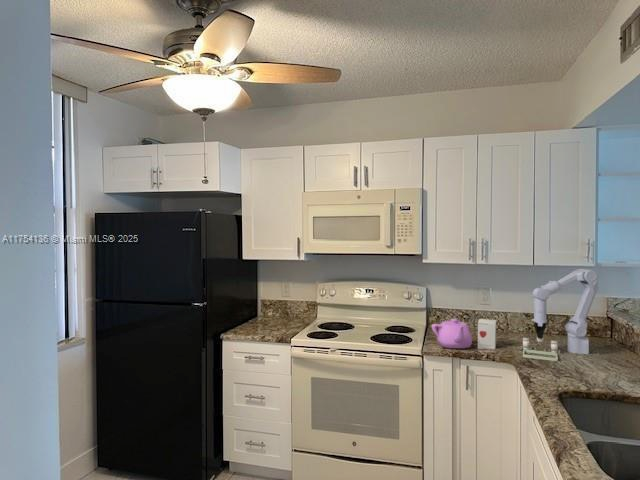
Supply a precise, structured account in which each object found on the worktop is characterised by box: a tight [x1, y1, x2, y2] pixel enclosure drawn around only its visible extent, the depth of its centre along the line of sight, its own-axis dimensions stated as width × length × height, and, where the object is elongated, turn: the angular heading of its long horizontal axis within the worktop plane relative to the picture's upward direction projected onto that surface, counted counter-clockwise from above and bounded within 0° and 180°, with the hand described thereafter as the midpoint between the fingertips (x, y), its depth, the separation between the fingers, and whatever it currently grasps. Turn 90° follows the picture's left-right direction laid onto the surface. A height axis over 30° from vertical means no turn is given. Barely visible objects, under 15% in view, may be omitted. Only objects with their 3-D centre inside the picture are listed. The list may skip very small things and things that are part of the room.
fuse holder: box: [519, 345, 562, 356], centre depth 223 cm, size 19×6×2 cm, turn 63°
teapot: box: [431, 318, 473, 350], centre depth 233 cm, size 23×21×15 cm
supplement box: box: [477, 318, 497, 350], centre depth 232 cm, size 9×9×15 cm
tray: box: [522, 349, 559, 362], centre depth 214 cm, size 15×11×2 cm
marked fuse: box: [536, 336, 544, 343], centre depth 223 cm, size 3×3×6 cm
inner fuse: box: [550, 339, 559, 353], centre depth 220 cm, size 3×3×6 cm
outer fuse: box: [522, 337, 530, 350], centre depth 226 cm, size 3×3×6 cm
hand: (540, 337), depth 223 cm, fingers closed on marked fuse, 3 cm apart
